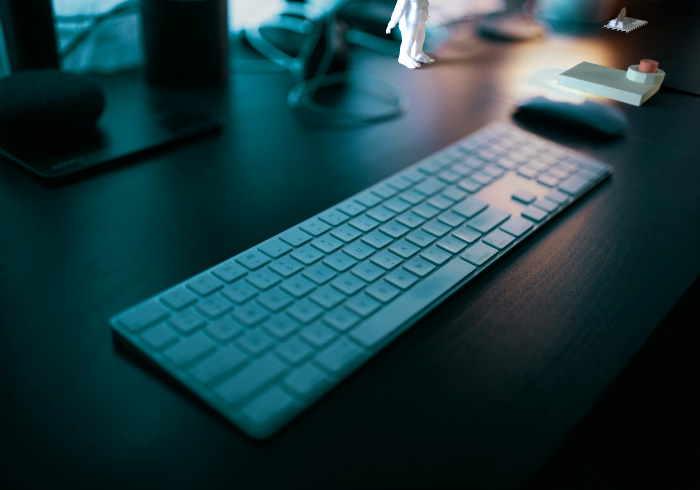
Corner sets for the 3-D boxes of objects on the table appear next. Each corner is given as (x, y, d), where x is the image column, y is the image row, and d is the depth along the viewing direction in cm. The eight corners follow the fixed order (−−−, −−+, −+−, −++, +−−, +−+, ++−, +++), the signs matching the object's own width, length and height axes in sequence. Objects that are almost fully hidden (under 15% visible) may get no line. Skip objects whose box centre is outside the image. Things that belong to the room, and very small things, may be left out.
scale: (661, 90, 102) (668, 70, 100) (640, 107, 94) (648, 86, 92) (581, 70, 109) (587, 51, 107) (556, 85, 101) (561, 64, 99)
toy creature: (407, 73, 101) (415, 0, 95) (379, 65, 104) (385, -7, 98) (443, 60, 109) (453, -8, 103) (417, 53, 112) (425, -14, 106)
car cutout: (627, 32, 138) (634, 12, 136) (600, 26, 142) (605, 7, 139) (646, 23, 148) (652, 4, 146) (620, 18, 152) (626, -1, 149)
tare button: (656, 72, 100) (660, 62, 99) (652, 75, 98) (656, 65, 97) (640, 68, 101) (643, 58, 100) (635, 71, 100) (638, 61, 99)
